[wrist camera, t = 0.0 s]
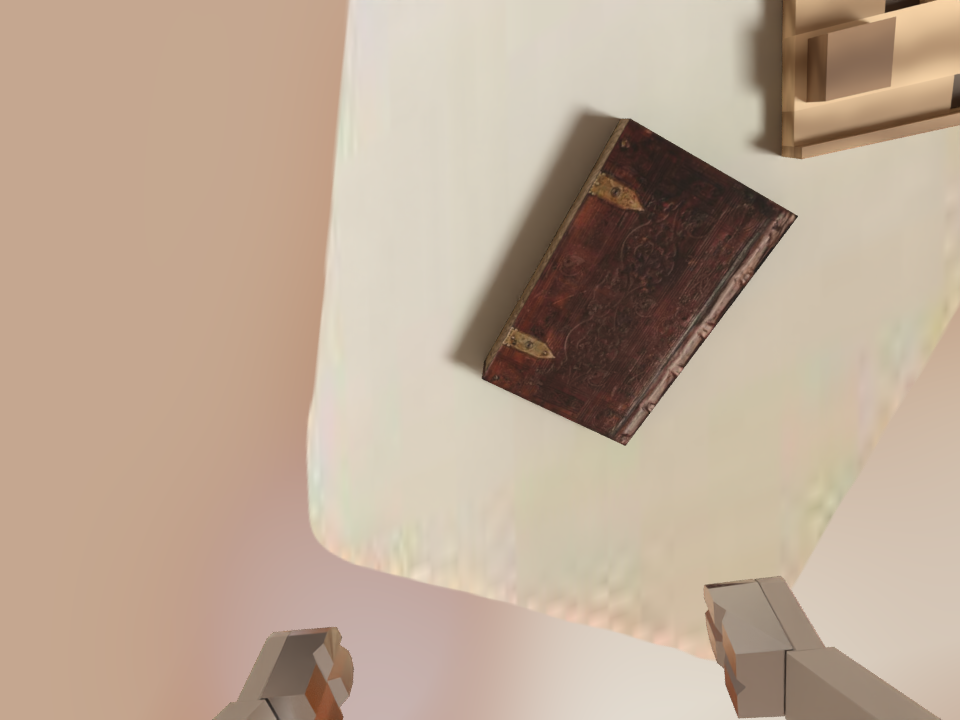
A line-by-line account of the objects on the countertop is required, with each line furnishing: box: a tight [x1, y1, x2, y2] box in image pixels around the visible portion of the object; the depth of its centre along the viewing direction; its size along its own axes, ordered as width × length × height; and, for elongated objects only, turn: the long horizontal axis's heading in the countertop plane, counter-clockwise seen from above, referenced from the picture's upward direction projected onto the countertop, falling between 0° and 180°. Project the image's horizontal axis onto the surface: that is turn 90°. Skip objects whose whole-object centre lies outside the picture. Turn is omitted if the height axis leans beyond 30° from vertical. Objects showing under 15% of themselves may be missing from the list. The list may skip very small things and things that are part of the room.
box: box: [782, 0, 960, 159], centre depth 44 cm, size 14×22×5 cm, turn 102°
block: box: [806, 17, 896, 103], centre depth 44 cm, size 5×5×3 cm
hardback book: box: [482, 119, 798, 446], centre depth 56 cm, size 29×19×5 cm, turn 153°
